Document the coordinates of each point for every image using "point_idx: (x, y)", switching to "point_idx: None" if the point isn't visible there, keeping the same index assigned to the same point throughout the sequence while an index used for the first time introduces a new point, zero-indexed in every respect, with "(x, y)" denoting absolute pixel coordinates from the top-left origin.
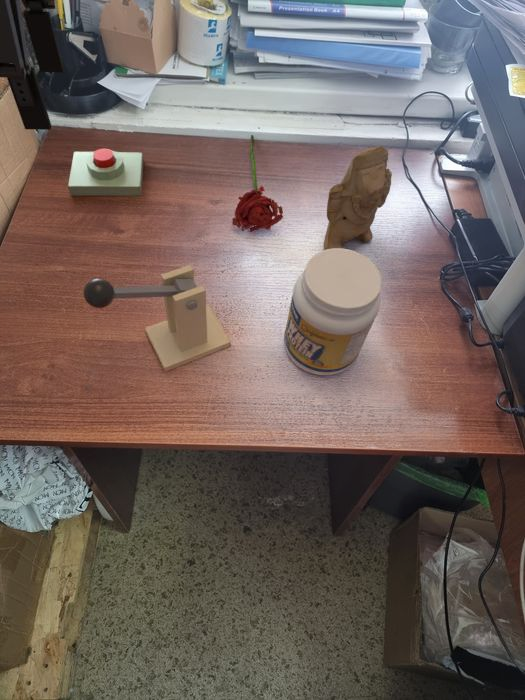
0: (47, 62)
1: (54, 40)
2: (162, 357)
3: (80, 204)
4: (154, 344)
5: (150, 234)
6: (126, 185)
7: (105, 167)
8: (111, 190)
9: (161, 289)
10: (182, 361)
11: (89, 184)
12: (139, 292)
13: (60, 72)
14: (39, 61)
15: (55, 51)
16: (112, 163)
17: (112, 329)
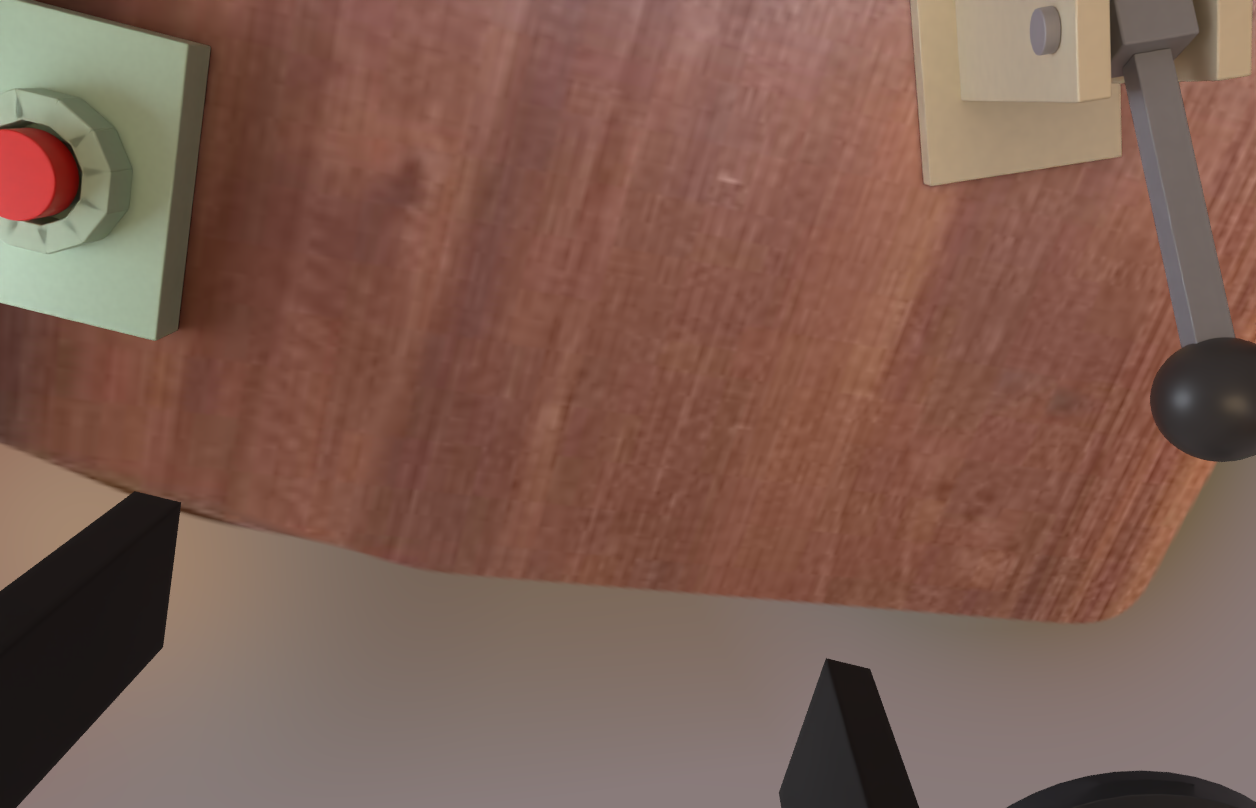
0: (136, 623)
1: (43, 624)
2: (1078, 152)
3: (232, 302)
4: (1014, 168)
5: (449, 58)
6: (175, 103)
7: (76, 177)
8: (184, 171)
9: (1173, 121)
10: (1119, 85)
11: (153, 256)
12: (1209, 225)
13: (177, 520)
14: (123, 675)
15: (92, 590)
16: (55, 142)
17: (870, 292)
